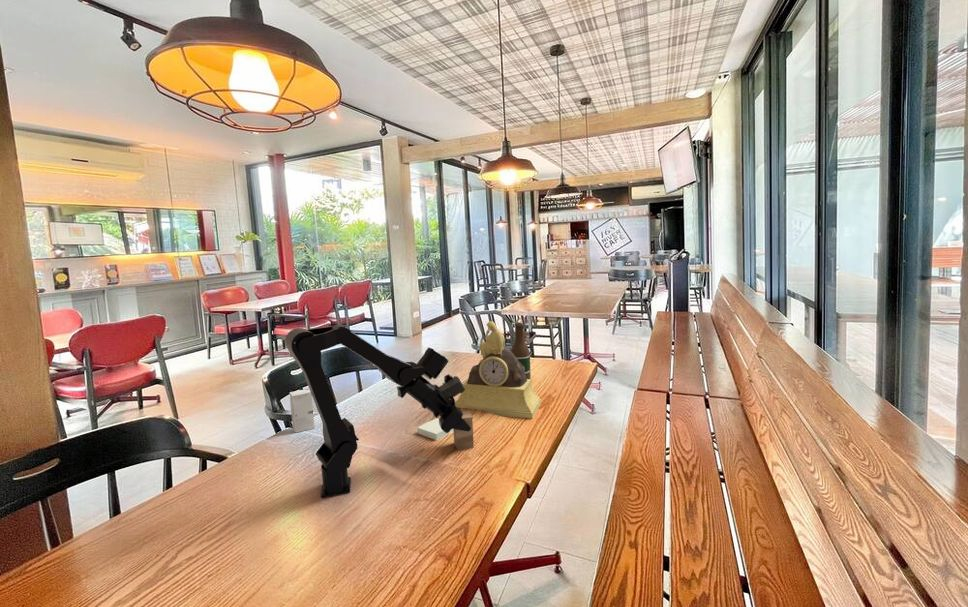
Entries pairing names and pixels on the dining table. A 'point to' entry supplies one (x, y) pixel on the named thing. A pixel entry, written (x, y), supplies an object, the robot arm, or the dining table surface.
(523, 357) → the beer bottle
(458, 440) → the walnut pillar
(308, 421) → the skincare box
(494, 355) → the decorative clock
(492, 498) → the dining table surface
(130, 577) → the dining table surface
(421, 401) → the robot arm
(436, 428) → the tower top block
